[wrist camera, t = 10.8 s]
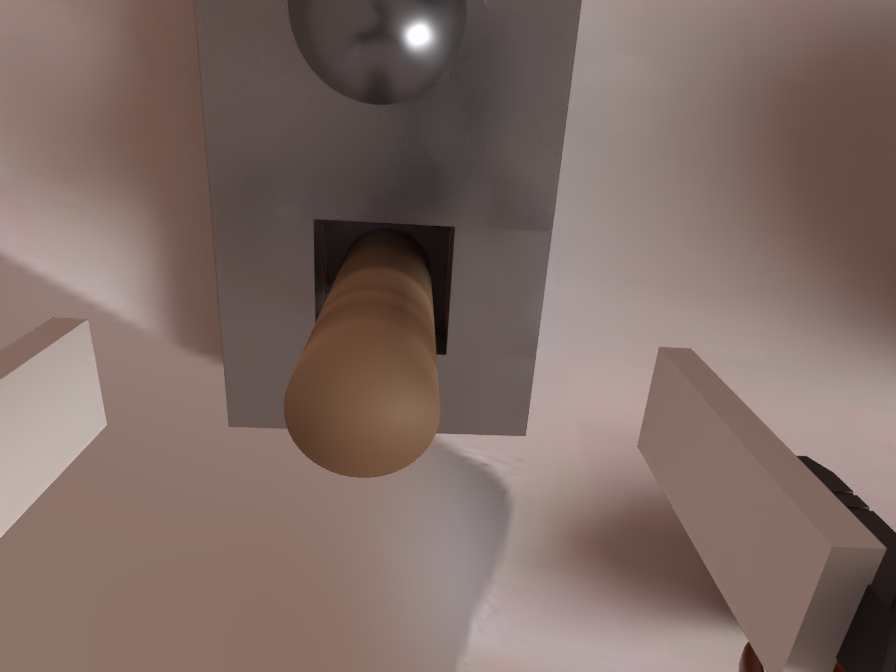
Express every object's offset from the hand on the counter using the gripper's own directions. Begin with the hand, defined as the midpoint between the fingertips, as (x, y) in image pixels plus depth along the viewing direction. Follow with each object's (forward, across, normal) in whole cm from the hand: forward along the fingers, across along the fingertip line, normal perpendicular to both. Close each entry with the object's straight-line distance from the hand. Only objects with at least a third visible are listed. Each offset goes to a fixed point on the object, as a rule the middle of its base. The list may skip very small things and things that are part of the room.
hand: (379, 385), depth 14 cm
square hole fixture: (+12, -1, +1) cm, 12 cm away
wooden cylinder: (+12, 0, -1) cm, 12 cm away
